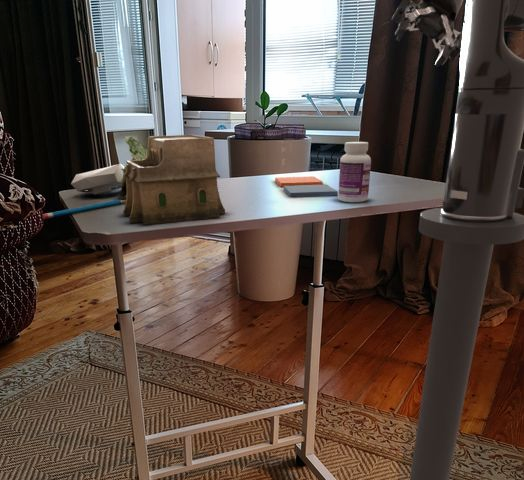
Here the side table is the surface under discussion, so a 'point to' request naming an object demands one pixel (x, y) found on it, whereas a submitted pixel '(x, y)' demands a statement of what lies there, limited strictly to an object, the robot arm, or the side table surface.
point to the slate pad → (310, 190)
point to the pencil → (82, 209)
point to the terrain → (136, 148)
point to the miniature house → (173, 181)
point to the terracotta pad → (298, 181)
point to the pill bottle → (354, 173)
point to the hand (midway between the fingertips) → (420, 49)
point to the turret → (99, 180)
